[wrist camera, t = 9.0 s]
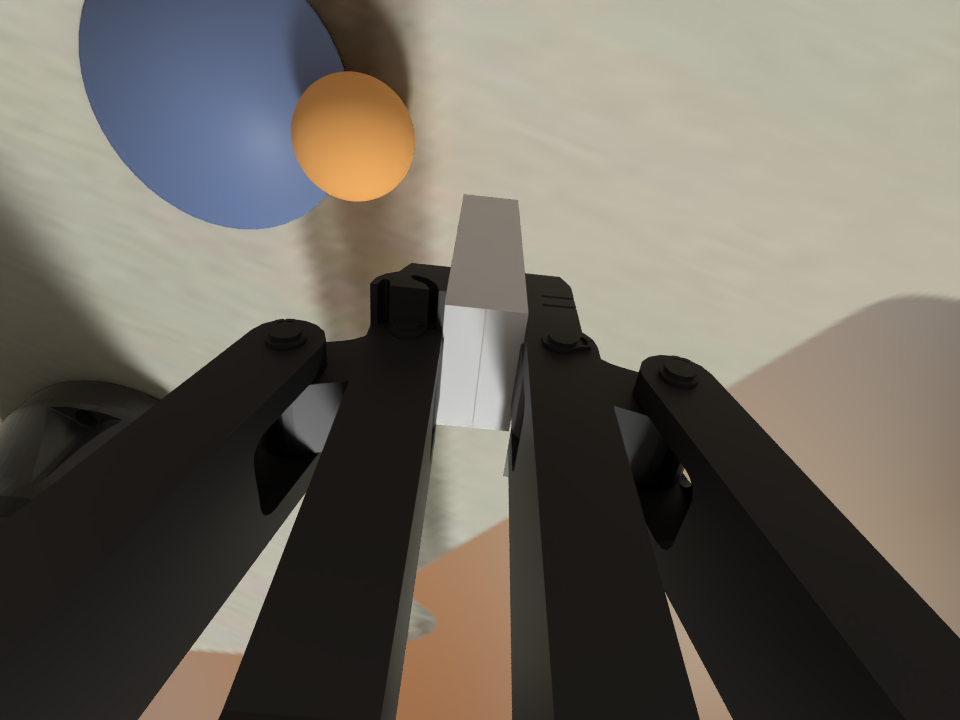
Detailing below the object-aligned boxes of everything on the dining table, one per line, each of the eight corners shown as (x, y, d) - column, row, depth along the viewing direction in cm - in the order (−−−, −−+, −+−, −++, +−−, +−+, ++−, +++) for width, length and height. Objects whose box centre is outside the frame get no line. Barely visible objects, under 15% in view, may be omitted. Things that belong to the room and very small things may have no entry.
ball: (400, 235, 27) (347, 196, 30) (457, 128, 26) (395, 100, 29) (300, 188, 23) (251, 148, 26) (364, 57, 21) (304, 33, 25)
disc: (230, 269, 33) (228, 271, 32) (26, 60, 27) (23, 60, 27) (405, 138, 28) (404, 139, 28) (205, -145, 23) (202, -146, 22)
